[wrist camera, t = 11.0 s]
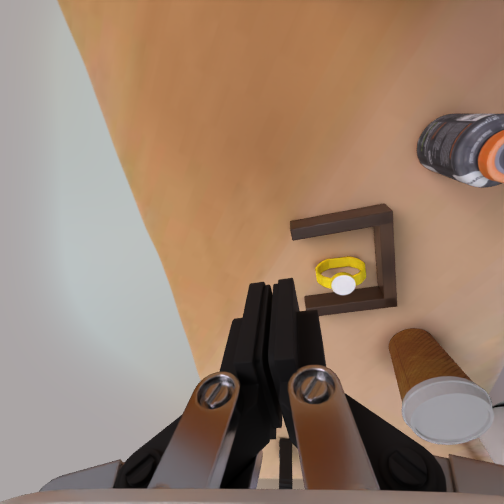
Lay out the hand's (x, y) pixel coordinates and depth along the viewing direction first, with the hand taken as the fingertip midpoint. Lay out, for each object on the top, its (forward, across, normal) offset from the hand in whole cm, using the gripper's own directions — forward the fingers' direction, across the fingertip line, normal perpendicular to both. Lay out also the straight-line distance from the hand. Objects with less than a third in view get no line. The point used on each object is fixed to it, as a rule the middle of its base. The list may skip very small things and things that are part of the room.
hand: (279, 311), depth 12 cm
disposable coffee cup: (+26, -14, +29) cm, 41 cm away
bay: (+26, -4, +13) cm, 30 cm away
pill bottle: (+27, -17, +1) cm, 32 cm away
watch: (+26, -5, +13) cm, 30 cm away
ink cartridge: (+25, +9, +51) cm, 58 cm away
